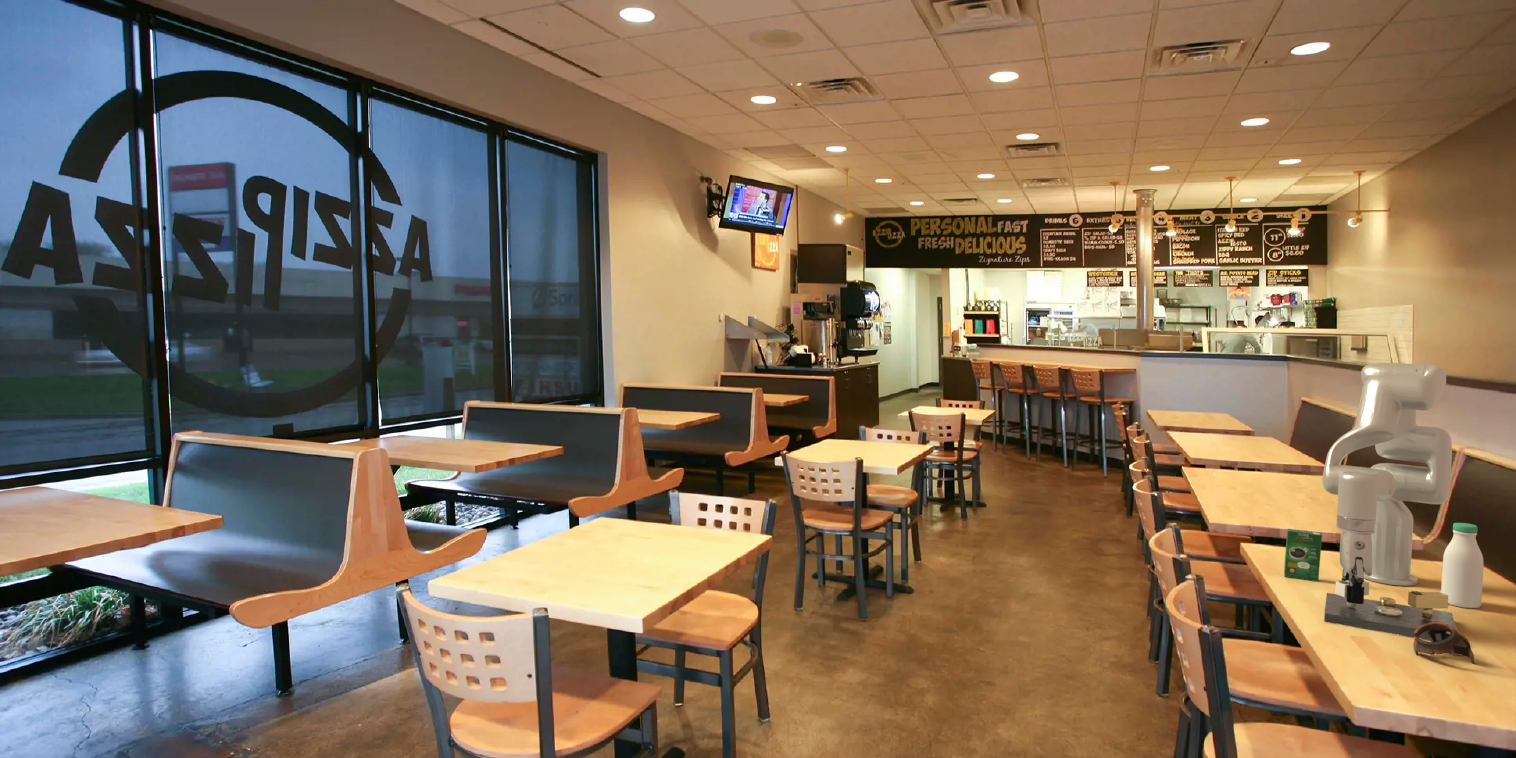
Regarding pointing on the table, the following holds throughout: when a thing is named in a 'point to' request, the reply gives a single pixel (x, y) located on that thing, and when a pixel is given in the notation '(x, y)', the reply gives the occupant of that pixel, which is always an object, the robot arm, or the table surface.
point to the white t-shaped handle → (1342, 590)
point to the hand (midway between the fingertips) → (1352, 598)
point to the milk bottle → (1463, 568)
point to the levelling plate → (1382, 616)
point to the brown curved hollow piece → (1442, 640)
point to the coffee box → (1302, 554)
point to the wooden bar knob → (1427, 602)
